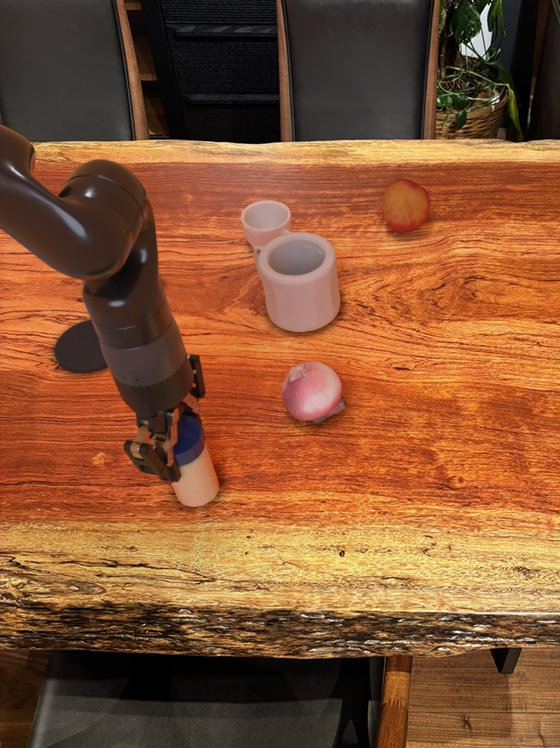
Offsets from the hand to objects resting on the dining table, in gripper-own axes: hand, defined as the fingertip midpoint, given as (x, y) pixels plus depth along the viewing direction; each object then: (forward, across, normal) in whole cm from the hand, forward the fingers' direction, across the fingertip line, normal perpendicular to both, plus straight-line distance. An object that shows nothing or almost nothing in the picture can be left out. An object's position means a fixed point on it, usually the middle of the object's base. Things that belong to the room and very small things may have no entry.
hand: (183, 455), depth 91 cm
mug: (+7, +33, -2) cm, 34 cm away
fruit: (+7, +54, -13) cm, 57 cm away
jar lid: (-4, 0, 0) cm, 4 cm away
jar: (+7, 0, 0) cm, 7 cm away
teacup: (+7, +46, +6) cm, 46 cm away
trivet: (+7, +19, +24) cm, 31 cm away
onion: (+7, +15, -10) cm, 20 cm away
